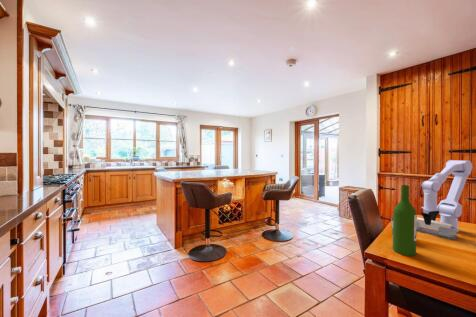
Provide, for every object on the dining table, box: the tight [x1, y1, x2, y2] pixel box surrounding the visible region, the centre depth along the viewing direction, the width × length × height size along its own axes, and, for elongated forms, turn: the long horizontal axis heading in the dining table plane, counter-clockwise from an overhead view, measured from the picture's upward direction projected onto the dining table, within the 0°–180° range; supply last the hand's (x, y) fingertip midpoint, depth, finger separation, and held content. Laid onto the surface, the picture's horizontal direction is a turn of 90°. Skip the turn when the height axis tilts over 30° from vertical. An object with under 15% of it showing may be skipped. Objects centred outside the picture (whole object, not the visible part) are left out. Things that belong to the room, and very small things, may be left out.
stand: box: [417, 222, 458, 241], centre depth 126 cm, size 8×22×6 cm, turn 32°
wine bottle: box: [392, 184, 418, 257], centre depth 101 cm, size 9×9×32 cm
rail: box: [417, 216, 452, 231], centre depth 126 cm, size 4×18×4 cm, turn 32°
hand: (429, 223), depth 126 cm, fingers open, 7 cm apart
